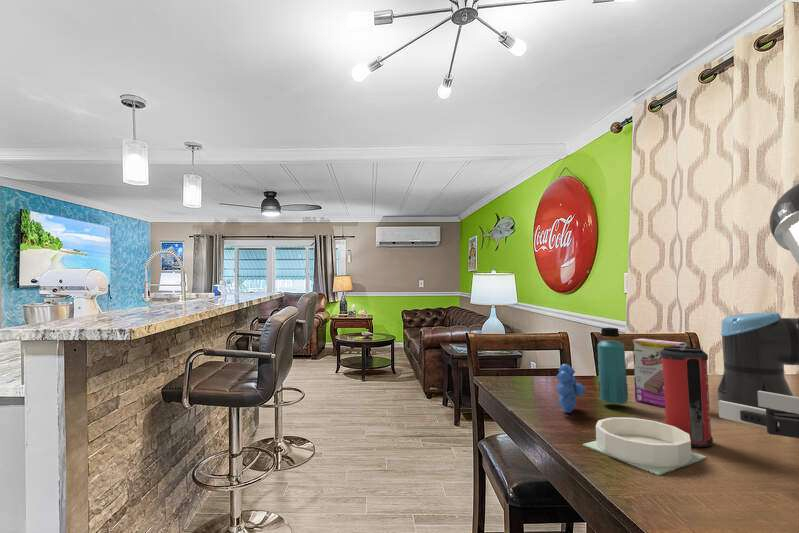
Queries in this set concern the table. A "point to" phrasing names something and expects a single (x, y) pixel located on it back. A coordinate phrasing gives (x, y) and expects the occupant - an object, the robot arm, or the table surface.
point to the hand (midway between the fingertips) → (739, 403)
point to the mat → (651, 469)
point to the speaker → (687, 393)
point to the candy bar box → (650, 370)
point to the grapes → (568, 388)
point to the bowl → (644, 442)
